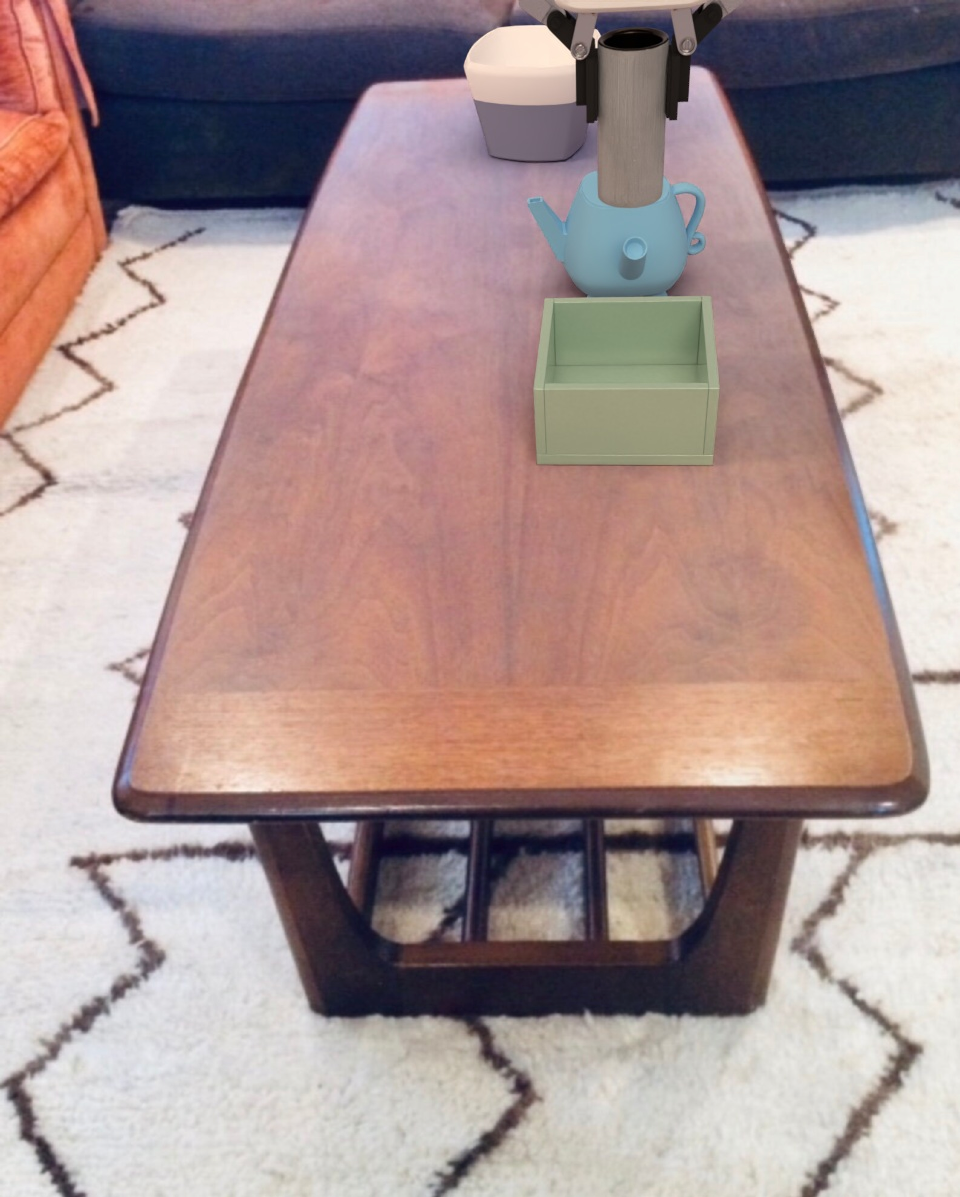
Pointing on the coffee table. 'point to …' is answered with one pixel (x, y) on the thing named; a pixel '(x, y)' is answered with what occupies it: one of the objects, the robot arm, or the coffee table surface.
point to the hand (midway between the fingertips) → (631, 111)
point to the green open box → (626, 381)
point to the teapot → (622, 240)
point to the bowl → (526, 94)
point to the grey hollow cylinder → (631, 115)
